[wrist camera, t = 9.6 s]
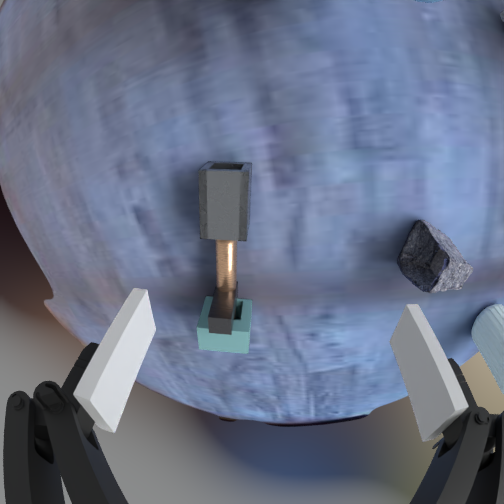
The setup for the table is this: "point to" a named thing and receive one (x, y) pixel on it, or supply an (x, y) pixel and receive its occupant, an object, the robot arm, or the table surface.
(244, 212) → the sleeve
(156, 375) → the table surface
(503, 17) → the mug
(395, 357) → the robot arm
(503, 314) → the vase
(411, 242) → the stone
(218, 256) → the hammer
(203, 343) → the socket
